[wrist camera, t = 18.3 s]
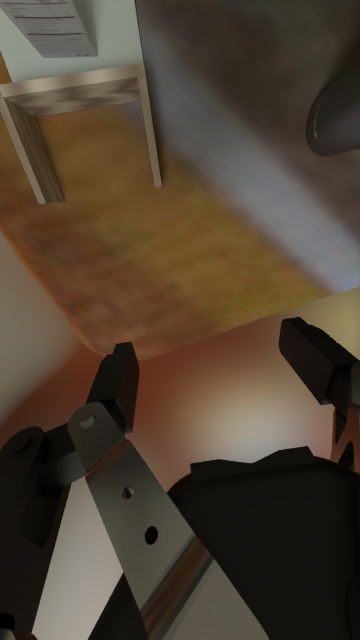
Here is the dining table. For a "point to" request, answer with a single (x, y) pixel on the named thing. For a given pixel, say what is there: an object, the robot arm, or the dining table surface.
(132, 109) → the dining table surface
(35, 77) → the mat
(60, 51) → the supplement box
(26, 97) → the box
